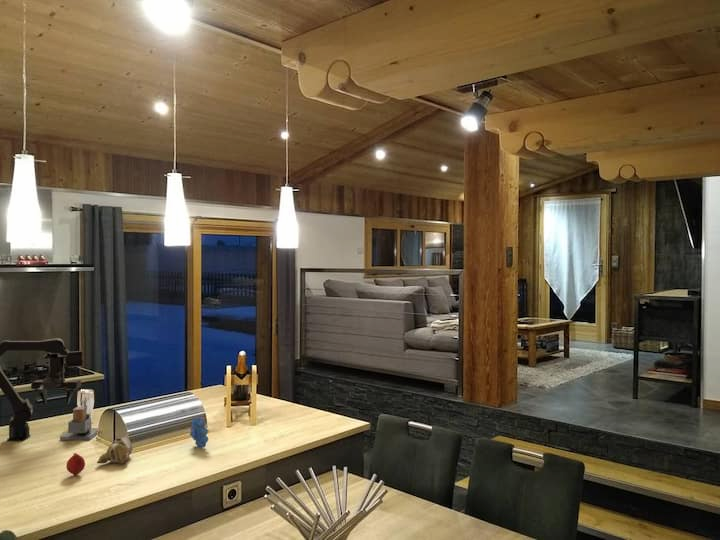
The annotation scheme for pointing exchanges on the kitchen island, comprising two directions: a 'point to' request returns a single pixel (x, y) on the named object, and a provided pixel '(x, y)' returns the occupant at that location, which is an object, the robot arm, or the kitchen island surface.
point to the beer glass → (86, 400)
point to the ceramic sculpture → (117, 451)
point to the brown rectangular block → (80, 414)
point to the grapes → (199, 432)
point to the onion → (75, 464)
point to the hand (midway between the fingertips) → (56, 404)
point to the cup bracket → (80, 430)
